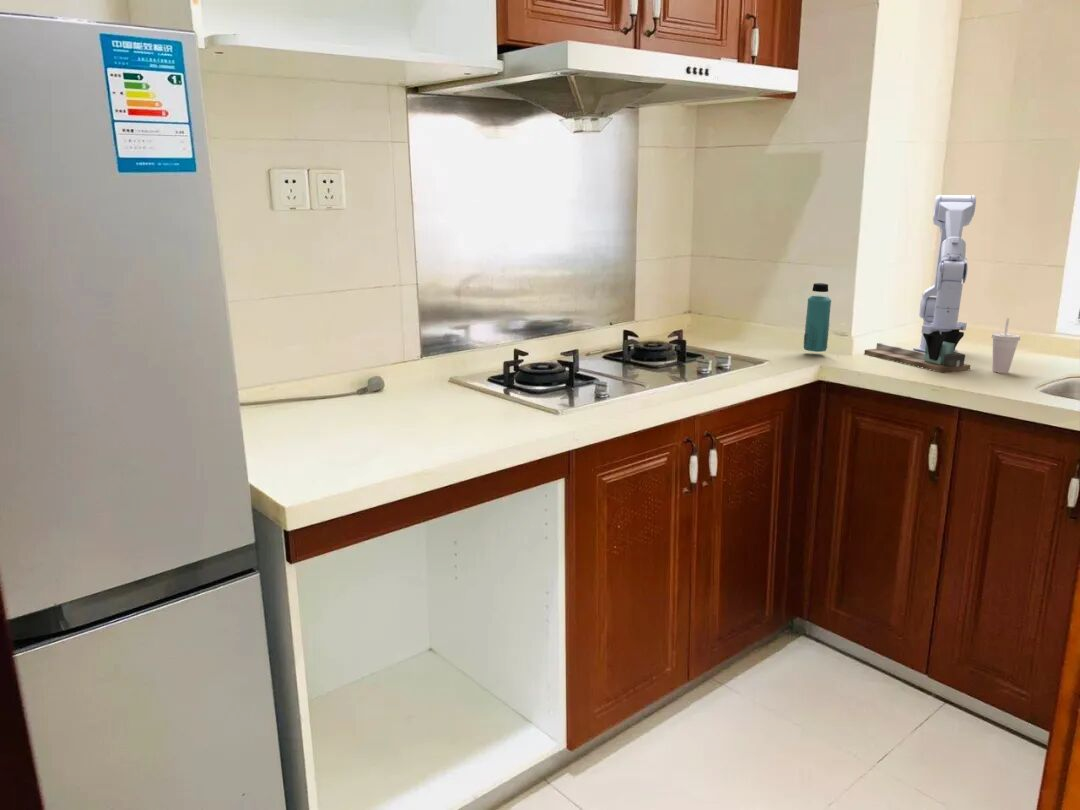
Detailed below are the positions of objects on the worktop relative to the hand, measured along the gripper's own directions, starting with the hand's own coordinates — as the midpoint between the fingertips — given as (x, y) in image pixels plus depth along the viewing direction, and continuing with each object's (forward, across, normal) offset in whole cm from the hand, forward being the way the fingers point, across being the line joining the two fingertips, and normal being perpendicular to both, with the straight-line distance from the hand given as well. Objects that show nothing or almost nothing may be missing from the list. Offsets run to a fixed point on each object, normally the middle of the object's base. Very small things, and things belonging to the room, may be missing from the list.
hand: (939, 358), depth 217 cm
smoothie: (+2, +10, -10) cm, 15 cm away
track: (+2, 0, +8) cm, 8 cm away
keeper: (+1, 0, +1) cm, 1 cm away
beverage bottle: (+2, -19, +26) cm, 32 cm away
